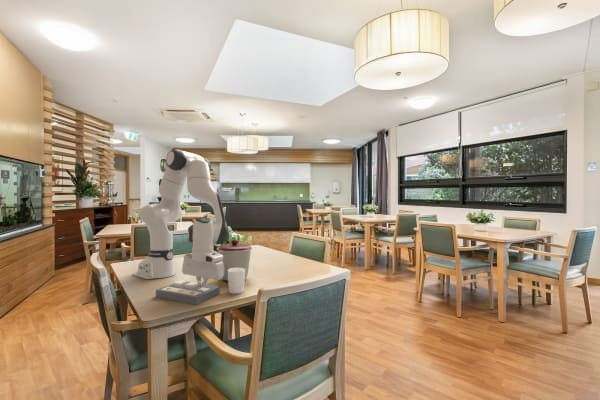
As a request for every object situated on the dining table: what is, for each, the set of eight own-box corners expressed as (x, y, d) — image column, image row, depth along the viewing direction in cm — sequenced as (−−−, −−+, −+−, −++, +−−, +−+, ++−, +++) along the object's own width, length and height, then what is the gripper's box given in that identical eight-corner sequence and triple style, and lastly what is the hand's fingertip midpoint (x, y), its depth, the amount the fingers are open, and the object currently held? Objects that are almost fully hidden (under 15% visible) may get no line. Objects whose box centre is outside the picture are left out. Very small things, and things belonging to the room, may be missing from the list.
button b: (196, 295, 127) (196, 289, 127) (202, 292, 130) (203, 287, 130) (204, 296, 125) (204, 291, 125) (210, 294, 129) (210, 288, 129)
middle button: (184, 290, 129) (185, 284, 129) (191, 287, 133) (191, 281, 133) (192, 291, 128) (192, 285, 128) (198, 288, 131) (198, 283, 131)
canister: (243, 285, 143) (244, 242, 143) (209, 282, 147) (210, 240, 147) (256, 275, 161) (257, 237, 161) (226, 273, 165) (226, 236, 164)
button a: (173, 288, 132) (173, 282, 131) (180, 285, 135) (180, 280, 135) (180, 289, 130) (180, 283, 130) (187, 286, 134) (187, 281, 134)
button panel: (155, 297, 125) (155, 289, 125) (181, 286, 139) (181, 279, 139) (196, 304, 117) (196, 296, 117) (219, 293, 131) (220, 285, 131)
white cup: (246, 288, 139) (246, 267, 139) (243, 294, 131) (243, 272, 131) (229, 288, 138) (229, 267, 138) (225, 294, 131) (226, 271, 130)
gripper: (179, 253, 128) (178, 285, 129) (217, 259, 121) (216, 292, 121) (189, 251, 134) (188, 281, 135) (226, 256, 127) (225, 287, 127)
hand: (202, 286), depth 128 cm, fingers closed
